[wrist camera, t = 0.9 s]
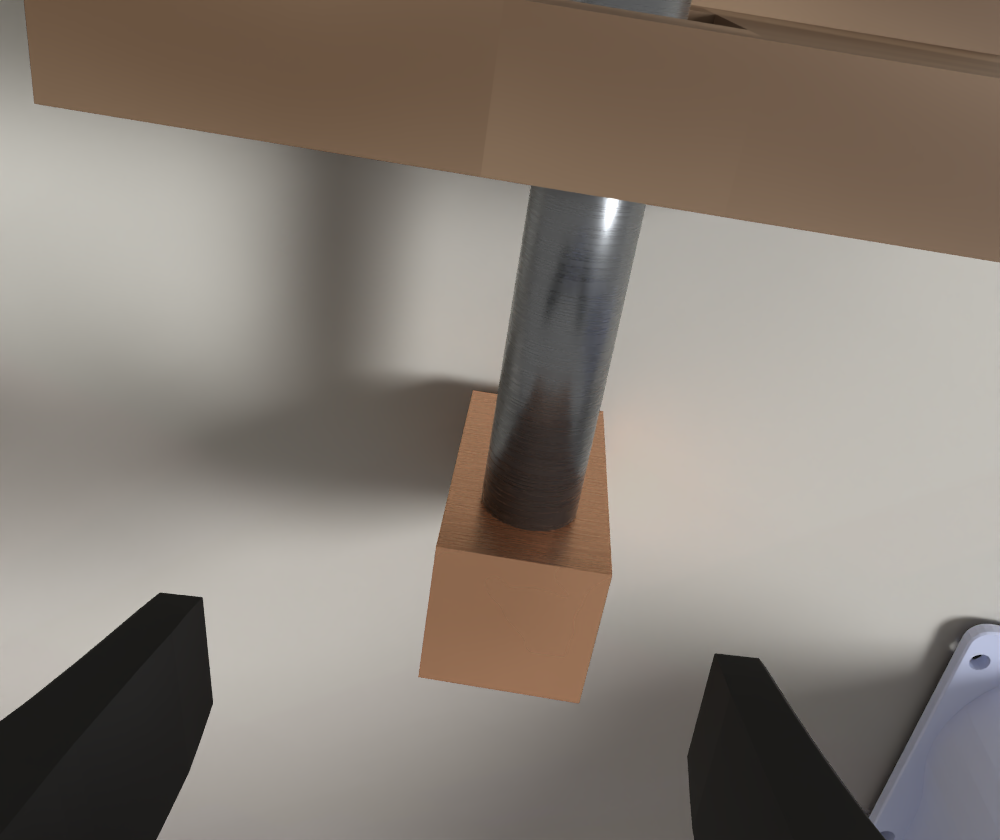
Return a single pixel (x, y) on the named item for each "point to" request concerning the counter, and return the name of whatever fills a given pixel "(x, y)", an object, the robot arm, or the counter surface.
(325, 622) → the counter surface
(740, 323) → the counter surface
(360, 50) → the slotted wooden block
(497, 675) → the hook pin
